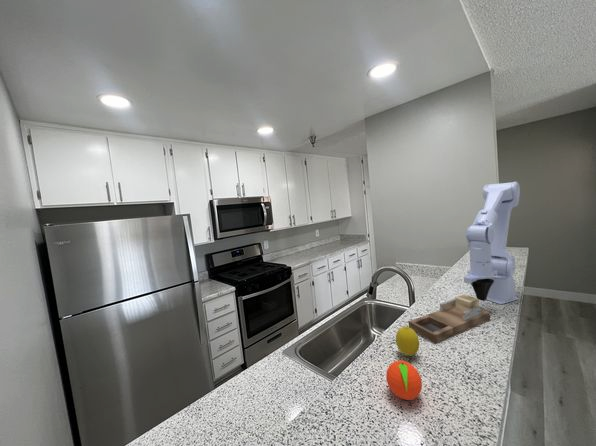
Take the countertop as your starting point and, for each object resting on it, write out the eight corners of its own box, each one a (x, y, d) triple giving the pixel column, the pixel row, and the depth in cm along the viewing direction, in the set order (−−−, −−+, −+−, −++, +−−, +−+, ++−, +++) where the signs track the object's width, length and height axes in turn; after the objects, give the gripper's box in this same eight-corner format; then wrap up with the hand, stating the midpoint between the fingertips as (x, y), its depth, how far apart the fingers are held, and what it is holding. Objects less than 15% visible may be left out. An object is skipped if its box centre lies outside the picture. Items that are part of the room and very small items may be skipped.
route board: (461, 309, 83) (461, 302, 83) (490, 319, 75) (489, 312, 75) (408, 329, 74) (408, 321, 74) (435, 343, 66) (434, 335, 65)
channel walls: (455, 305, 81) (454, 298, 81) (480, 314, 74) (480, 307, 74) (440, 310, 78) (439, 303, 78) (465, 321, 71) (465, 313, 71)
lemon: (422, 363, 59) (421, 332, 58) (399, 362, 60) (397, 332, 59) (416, 349, 64) (414, 321, 63) (394, 348, 65) (393, 321, 65)
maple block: (464, 305, 80) (464, 294, 80) (479, 310, 76) (478, 298, 76) (455, 309, 79) (455, 297, 78) (470, 314, 75) (469, 302, 74)
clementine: (428, 416, 45) (426, 381, 44) (389, 410, 47) (387, 377, 46) (418, 384, 52) (417, 354, 52) (385, 380, 54) (383, 351, 54)
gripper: (480, 255, 85) (481, 291, 87) (454, 262, 80) (455, 300, 81) (504, 258, 79) (504, 297, 80) (476, 266, 73) (477, 308, 75)
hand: (481, 299), depth 80 cm, fingers closed
